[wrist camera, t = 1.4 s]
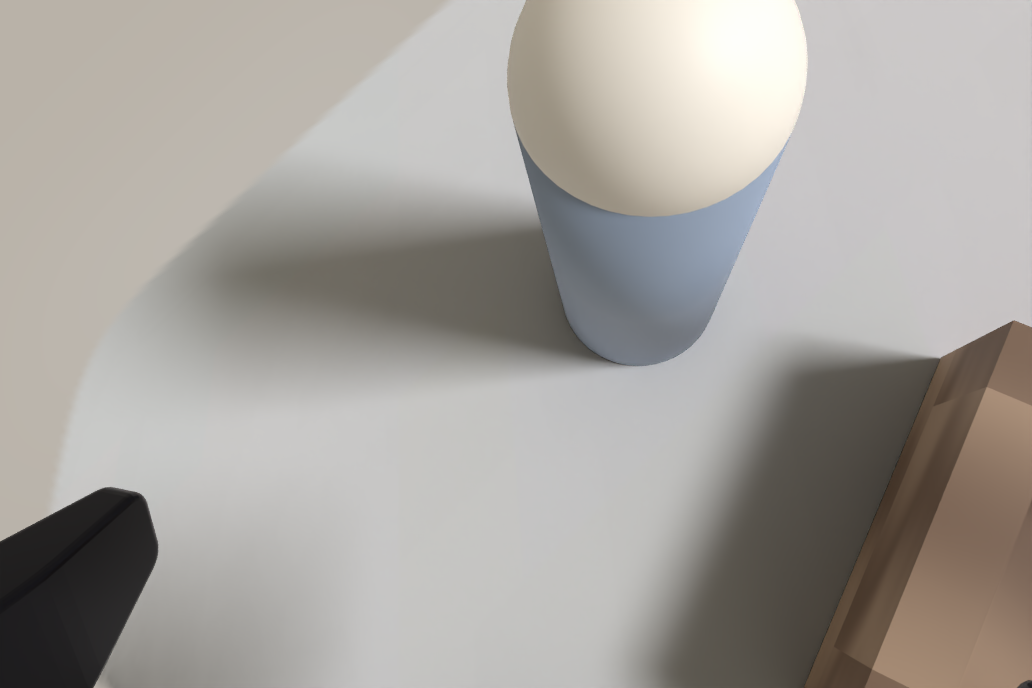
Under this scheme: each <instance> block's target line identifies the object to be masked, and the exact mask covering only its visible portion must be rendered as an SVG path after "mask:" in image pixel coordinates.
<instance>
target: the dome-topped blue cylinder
mask: <svg viewBox="0 0 1032 688" xmlns="http://www.w3.org/2000/svg"><path fill="white" fill-rule="evenodd" d="M806 78H807V46H806V37H805V33H804V29H803V25H802V20H801V17H800V13H799V10H798V8H797V5H796V3H795V0H526V2H525V5H524V7H523V9H522V12H521V14H520V16H519V19H518V21H517V24H516V26H515V30H514V33H513V37H512V40H511V46H510V53H509V60H508V68H507V88H508V96H509V103H510V110H511V115H512V119H513V122H514V126H515V130H516V133H517V137H518V141H519V145H520V148H521V152H522V156H523V159H524V163H525V167H526V170H527V174H528V178H529V182H530V185H531V189H532V193H533V196H534V200H535V204H536V207H537V211H538V215H539V219H540V222H541V226H542V230H543V233H544V237H545V241H546V244H547V248H548V252H549V256H550V259H551V263H552V267H553V270H554V274H555V278H556V281H557V285H558V289H559V293H560V296H561V300H562V304H563V307H564V311H565V314H566V317H567V320H568V322H569V324H570V326H571V328H572V329H573V331H574V333H575V334H576V336H577V337H578V338H579V339H580V340H581V342H582V343H584V344H585V345H586V346H587V347H588V348H589V349H590V350H592V351H593V352H595V353H596V354H597V355H599V356H601V357H603V358H605V359H607V360H610V361H613V362H615V363H620V364H624V365H632V366H646V365H653V364H657V363H661V362H664V361H667V360H669V359H672V358H674V357H676V356H678V355H679V354H681V353H683V352H684V351H685V350H687V349H688V348H689V347H690V346H692V344H693V343H694V342H695V341H696V340H697V339H698V338H699V337H700V335H701V334H702V333H703V331H704V330H705V328H706V326H707V324H708V323H709V320H710V318H711V316H712V314H713V311H714V309H715V307H716V304H717V302H718V300H719V298H720V295H721V293H722V291H723V289H724V286H725V284H726V282H727V279H728V277H729V275H730V273H731V270H732V268H733V266H734V263H735V261H736V259H737V257H738V254H739V252H740V250H741V247H742V245H743V243H744V241H745V238H746V236H747V234H748V232H749V229H750V227H751V225H752V222H753V220H754V218H755V216H756V213H757V211H758V209H759V206H760V204H761V202H762V200H763V197H764V195H765V193H766V190H767V188H768V186H769V184H770V181H771V179H772V177H773V175H774V172H775V170H776V168H777V165H778V163H779V161H780V159H781V156H782V154H783V152H784V149H785V147H786V145H787V143H788V140H789V138H790V136H791V133H792V131H793V129H794V126H795V123H796V121H797V118H798V115H799V112H800V109H801V105H802V101H803V97H804V92H805V88H806Z"/></svg>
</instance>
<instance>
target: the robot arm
mask: <svg viewBox="0 0 1032 688" xmlns="http://www.w3.org/2000/svg"><path fill="white" fill-rule="evenodd" d="M157 555H158V541H157V537H156V533H155V530H154V526H153V522H152V519H151V515H150V512H149V508H148V504H147V501H146V499H145V498H144V497H143V496H142V495H141V494H140V493H137V492H133V491H128V490H124V489H119V488H113V487H107V488H102V489H100V490H97V491H95V492H93V493H91V494H90V495H88V496H86V497H84V498H82V499H80V500H78V501H76V502H74V503H72V504H71V505H69V506H67V507H65V508H63V509H61V510H59V511H57V512H55V513H53V514H52V515H50V516H48V517H46V518H44V519H42V520H40V521H38V522H36V523H35V524H33V525H31V526H29V527H27V528H25V529H23V530H21V531H19V532H17V533H16V534H14V535H12V536H10V537H8V538H6V539H4V540H2V541H0V688H93V687H94V686H95V684H96V682H97V680H98V678H99V676H100V674H101V672H102V671H103V669H104V667H105V665H106V663H107V660H108V658H109V656H110V654H111V652H112V650H113V648H114V646H115V644H116V642H117V640H118V638H119V636H120V634H121V632H122V630H123V628H124V626H125V624H126V622H127V620H128V618H129V616H130V614H131V612H132V610H133V608H134V606H135V604H136V602H137V600H138V598H139V596H140V594H141V592H142V590H143V588H144V586H145V584H146V582H147V580H148V578H149V576H150V574H151V572H152V570H153V568H154V566H155V563H156V560H157ZM1017 688H1032V680H1027V681H1025V682H1023V683H1021V684H1020V685H1019V686H1018V687H1017Z"/></svg>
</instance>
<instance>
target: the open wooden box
mask: <svg viewBox="0 0 1032 688" xmlns="http://www.w3.org/2000/svg"><path fill="white" fill-rule="evenodd" d="M1027 680H1032V327H1029V326H1027V325H1024V324H1022V323H1019V322H1017V321H1012V322H1010V323H1008V324H1006V325H1004V326H1002V327H1000V328H998V329H996V330H994V331H992V332H990V333H988V334H986V335H984V336H982V337H980V338H978V339H977V340H975V341H973V342H971V343H969V344H967V345H965V346H963V347H961V348H959V349H957V350H955V351H953V352H951V353H949V354H947V355H945V356H943V357H941V359H940V361H939V364H938V366H937V369H936V371H935V373H934V376H933V378H932V381H931V383H930V385H929V388H928V390H927V393H926V395H925V397H924V400H923V402H922V405H921V407H920V409H919V412H918V414H917V417H916V419H915V421H914V424H913V426H912V429H911V431H910V433H909V436H908V438H907V441H906V443H905V445H904V448H903V450H902V453H901V455H900V458H899V460H898V462H897V465H896V467H895V470H894V472H893V474H892V477H891V479H890V482H889V484H888V486H887V489H886V491H885V494H884V496H883V498H882V501H881V503H880V506H879V508H878V510H877V513H876V515H875V518H874V520H873V522H872V525H871V527H870V530H869V532H868V534H867V537H866V539H865V542H864V544H863V546H862V549H861V551H860V554H859V556H858V558H857V561H856V563H855V566H854V568H853V570H852V573H851V575H850V578H849V580H848V582H847V585H846V587H845V590H844V592H843V594H842V597H841V599H840V602H839V604H838V606H837V609H836V611H835V614H834V616H833V618H832V621H831V623H830V626H829V628H828V630H827V633H826V635H825V638H824V640H823V643H822V645H821V647H820V650H819V652H818V655H817V657H816V659H815V662H814V664H813V667H812V669H811V671H810V674H809V676H808V679H807V681H806V683H805V686H804V688H1017V687H1018V686H1019V685H1020V684H1021V683H1023V682H1025V681H1027Z"/></svg>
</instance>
